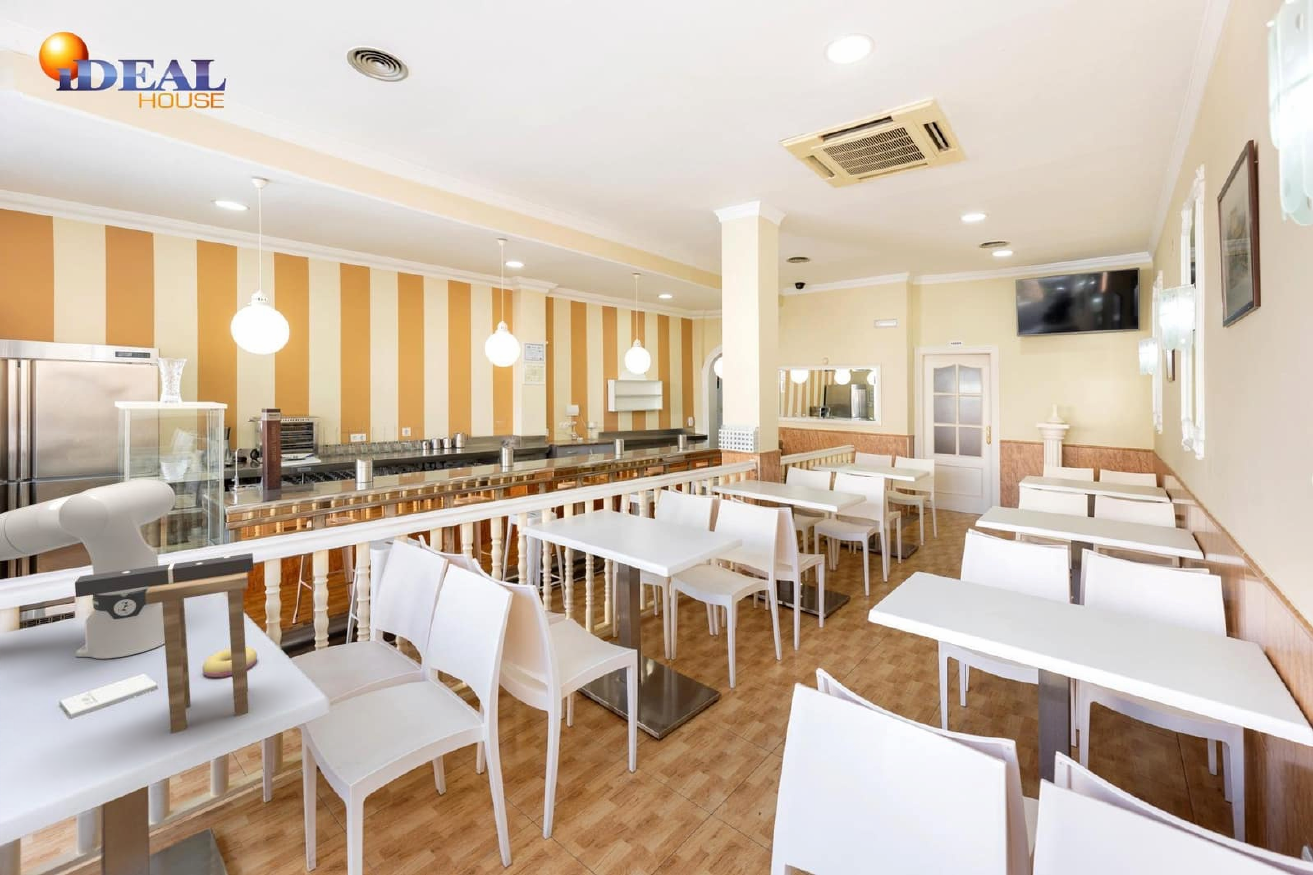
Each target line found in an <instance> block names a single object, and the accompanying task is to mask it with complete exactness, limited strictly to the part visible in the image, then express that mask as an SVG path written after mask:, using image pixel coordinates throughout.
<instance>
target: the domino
mask: <svg viewBox="0 0 1313 875" xmlns="http://www.w3.org/2000/svg"><path fill="white" fill-rule="evenodd" d="M254 570H255V569H254V555H253V552H251V553H244V554H237V555H236V554H235V555H229V556H228V555H227V556H221V557H215V558H214V557H213V558H207V559H199V560H193V561H191V560H190V561H186V562H185V561H183V562H177V563H175V562H174V563H169V564H163V565H162V564H161V565H158V566H153V567H146V568H138V569H131V570H123V571H116V572H109V573H101V574H88V575H80V576H79V577H78V578H77V580H76V581H74V589H75V590H74V592H75V598H80V597H87V596H93V595H95V594H102V593H108V592H115V591H122V590H128V589H135V588H142V587H148V586H155V585H162V584H168V583H169V584H171V583H175V582H182V581H188V580H195V579H202V578H208V577H215V576H222V575H228V574H235V573H242V572H254Z"/></svg>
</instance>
